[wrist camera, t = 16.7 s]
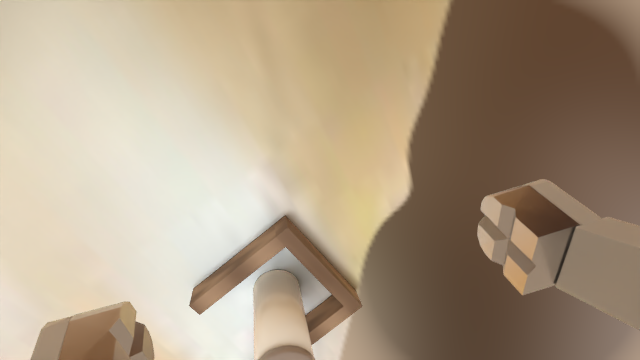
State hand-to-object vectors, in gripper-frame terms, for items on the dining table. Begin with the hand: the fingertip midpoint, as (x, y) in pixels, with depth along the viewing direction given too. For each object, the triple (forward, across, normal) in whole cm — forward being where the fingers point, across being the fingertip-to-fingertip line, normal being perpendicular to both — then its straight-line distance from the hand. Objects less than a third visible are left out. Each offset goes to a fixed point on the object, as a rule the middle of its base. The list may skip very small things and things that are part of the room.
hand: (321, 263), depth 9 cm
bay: (+25, +2, +29) cm, 38 cm away
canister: (+25, +2, +29) cm, 38 cm away
